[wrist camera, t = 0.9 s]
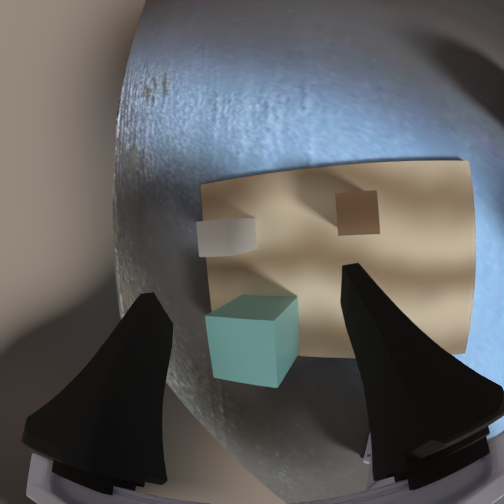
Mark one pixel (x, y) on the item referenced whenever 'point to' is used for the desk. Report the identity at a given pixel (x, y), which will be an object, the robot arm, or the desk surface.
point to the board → (353, 246)
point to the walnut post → (357, 213)
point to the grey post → (226, 237)
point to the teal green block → (254, 339)
